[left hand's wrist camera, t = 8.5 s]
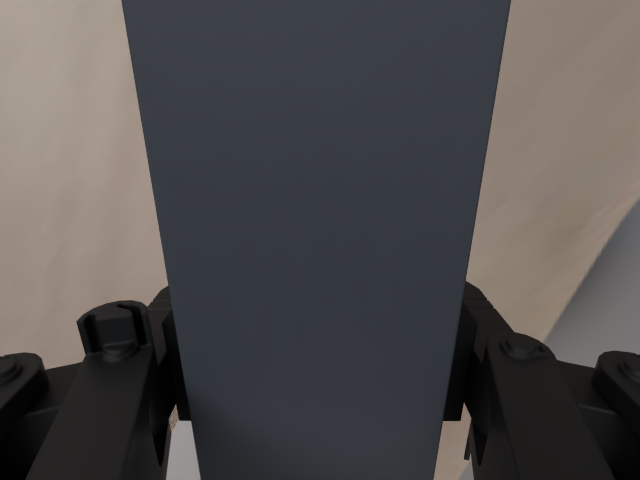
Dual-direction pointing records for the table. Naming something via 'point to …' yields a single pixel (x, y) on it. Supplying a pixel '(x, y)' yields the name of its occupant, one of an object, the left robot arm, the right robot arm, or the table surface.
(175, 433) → the mug
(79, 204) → the table surface
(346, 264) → the beam
